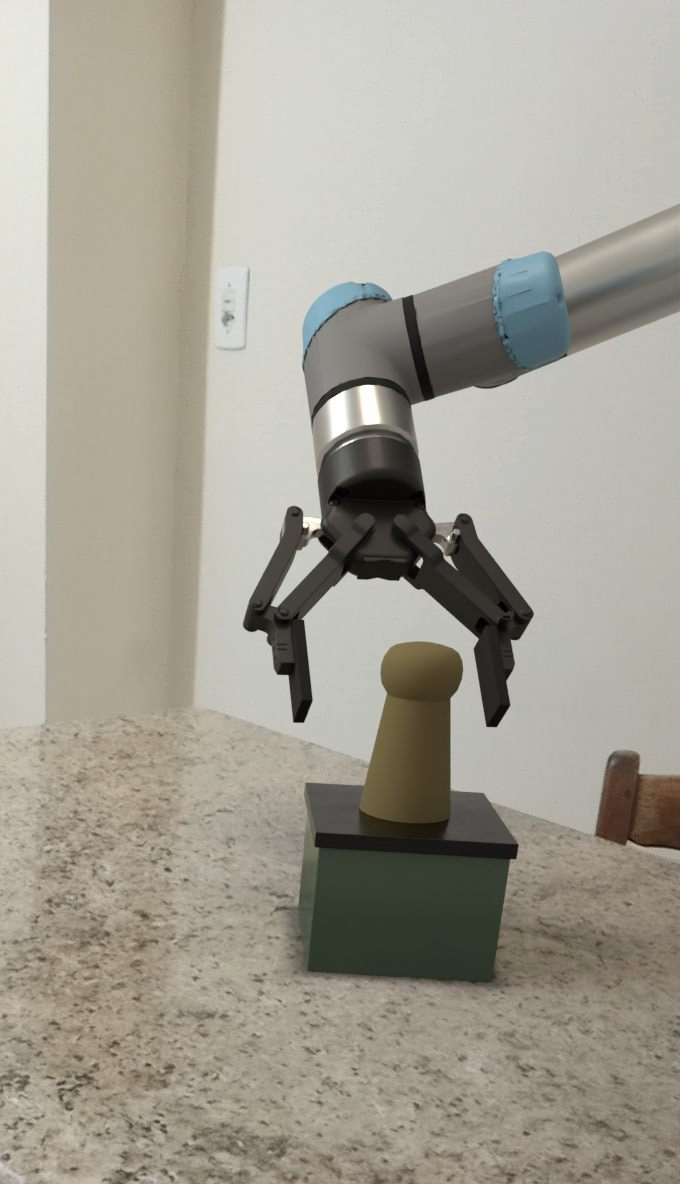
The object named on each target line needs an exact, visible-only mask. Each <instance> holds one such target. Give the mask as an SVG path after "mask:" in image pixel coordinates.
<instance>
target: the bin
mask: <svg viewBox="0 0 680 1184" xmlns="http://www.w3.org/2000/svg"><path fill="white" fill-rule="evenodd" d="M363 789H364V785H357V784H340V783H323V782H321V783H320V782H305V783H304V792H303V798H304V801H305V805H306V806H305V807H306V821H305V832H304V842H303V852H302V863H301V873H300V884H299V895H298V896H299V897H298V907H297V912H298V917H299V918H298V919H299V924H300V925H299V926H300V932H301V938H302V939H301V940H302V946H303V952H304V953H303V954H304V960H305V967H306V971H307V972H321V973H335V974H336V973H337V974H351V975H366V976H367V975H368V976H383V977H398V978H399V977H400V978H415V979H430V980H431V979H432V980H444V981H445V980H446V981H460V982H461V981H462V982H475V983H476V982H477V983H492V982H493V976H494V970H495V964H496V956H497V950H498V945H499V943H498V942H499V937H500V930H501V923H502V915H503V910H504V903H505V898H506V890H507V885H508V879H509V871H510V865H511V860H517V858H518V853H519V847H520V846H519V844H520V843H518V842H517V840H516V838H515V836H513V834H512V832H511V831H510V830H509V828H508V827H507V825H506V823H504V821H503V819H502V818H501V816H500V815H499V813H498V812H497V811H496V809H495V807H494V806H493V804H492V803H491V801H490V800H489V798H488V797H487V795H486V794H485V793H484V792H475V791H459V790H451V815H450V818H448V819H446V820H445V821H440V822H436V823H423V824H421V823H403V822H394V821H389V820H384V819H379V818H376V817H373V816H370V815H368V814H366V813H364V812H362V811H361V809H360V808H359V805H360V801H361V797H362V793H363Z"/></svg>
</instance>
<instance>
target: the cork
mask: <svg viewBox="0 0 680 1184" xmlns="http://www.w3.org/2000/svg"><path fill="white" fill-rule="evenodd" d="M463 674H464V663H463V659H462V657H461V655H460V653H459V652H458V651H457V650H456V649H454V648H452V647H450V646H447V645H445V644H441V643H437V642H431V641H418V640H417V641H416V640H415V641H406V642H400V643H395V644H394V645H392V646H390V647H389V649H388V650H387V651H386V653H384V656H383V658H382V660H381V664H380V673H379V675H380V682H381V685H382V687H383V689H384V690H385V692H386V696H385V698H384V699H385V700H384V704H383V707H382V712H381V715H380V719H379V725H378V729H377V733H376V736H375V740H374V743H373V749H372V753H371V756H370V760H369V765H368V769H367V773H366V776H365V781H364V785H363V786H364V789H363V793H362V797H361V801H360V805H359V808H360V809H361V811H362V812H364V813H366V814H368V815H370V816H373V817H376V818H379V819H384V820H389V821H394V822H403V823H421V824H423V823H436V822H440V821H445V820H446V819H448V818H450V815H451V791H452V790H451V789H452V788H451V785H452V784H451V783H452V781H451V779H452V778H451V771H452V769H451V766H452V765H451V764H452V763H451V760H452V759H451V756H452V755H451V754H452V752H451V751H452V748H451V747H452V746H451V743H452V742H451V740H452V739H451V737H452V736H451V730H452V729H451V722H452V721H451V716H452V715H451V712H452V711H451V708H452V707H451V706H452V704H451V703H452V702H451V701H452V700H451V698H452V697H454V695H455V694H456V693H457V692H458V690H459V688H460V686H461V682H462V680H463V676H464V675H463Z"/></svg>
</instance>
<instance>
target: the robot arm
mask: <svg viewBox="0 0 680 1184" xmlns="http://www.w3.org/2000/svg"><path fill="white" fill-rule="evenodd" d="M677 313H680V203H678V204H675V205H674V206H671V207H669V208H665V209H663V210H661V211H659V212H657V213H654V214H652V215H650V216H647V217H644V218H642V219H640V220H638V221H635V222H633V223H631V224H629V225H626V226H624V227H622V228H619V229H617V230H615V231H613V232H610V233H608V234H606V235H603V236H601V237H599V238H596V239H594V240H591V241H589V242H587V243H585V244H582V245H580V246H577V247H575V248H573V249H570V250H568V251H566V252H564V253H561V254H559V255H556V256H555V255H554V254H552V253H551V252H548V251H538V252H535V253H532V254H527V255H524V256H521V257H518V258H513V259H512V258H507V259H503V260H502V261H500V263H499V264H496V265H492V266H491V267H487V268H485V269H482V270H480V271H476V272H473V273H470V274H468V275H465V276H462V277H459V278H458V279H454V280H451V281H449V282H446V283H443V284H441V285H438V286H434V287H432V288H428V289H427V290H424V291H421V292H418V293H416V294H410V295H407V296H401V297H398V298H396V299H393V298H392V296H391V294H390V293H389V292H388V291H387V290H386V289H384V288H383V287H381V286H379V285H378V284H376V283H373V282H369V281H368V282H367V281H366V282H365V283H363V282H362V283H360V282H355V281H347V282H342V283H339V284H336V285H334V286H332V287H330V288H328V289H327V290H325V291H323V293H321V294H320V295H319V296H318V297H317V298H316V299H315V300H314V301H313V302H312V304H311V305H310V307H309V308H308V310H307V312H306V314H305V316H304V320H303V324H302V329H301V332H302V333H301V335H302V350H303V351H302V361H301V367H302V372H303V376H304V381H305V382H304V383H305V389H306V396H307V403H308V411H309V412H308V413H309V417H310V425H311V435H312V444H313V452H314V462H315V469H316V475H317V488H318V497H319V507H320V508H319V509H320V515H321V518H320V517H311V516H305V515H304V510H303V509H302V508H301V507H299V506H297V505H291V506H288V508H287V509H286V512H285V516H284V518H283V522H282V525H281V529H280V532H279V541H278V544H277V546H276V548H275V550H274V553H273V554H272V556H271V558H270V560H269V562H268V563H267V565H266V567H265V569H264V571H263V572H262V575H261V577H260V579H259V581H258V582H257V585H256V587H255V588H254V590H253V592H252V593H251V596H250V598H249V600H248V603H247V606H246V611H245V614H244V616H243V621H242V627H243V629H244V630H245V631H247V632H249V633H255V632H257V631H260V632H263V633H265V634H267V636H266V642H267V644H268V645H269V646H270V647H271V651H272V664H273V670H274V672H275V674H276V675H277V676H288V686H289V697H290V704H291V713H292V723H293V724H304V723H305V722H306V719H307V716H308V714H309V711H310V709H311V706H312V704H313V701H314V699H313V689H312V681H311V671H310V662H309V654H308V653H309V652H308V644H307V643H308V642H307V634H306V625H305V619H304V618H305V616H306V615H307V614H309V612H310V611H311V610H312V609H313V608H314V607H315V606H316V605H317V604H318V603H319V601H321V600H322V598H323V597H324V596H325V595H326V594H327V593H328V592H329V591H330V590H331V588H332V587H334V588H335V587H336V586H338V584H339V583H340V582H341V581H342V580H343V578H345V577H346V575H347V574H348V573H349V574H351V575H353V576H356V580H362V581H363V580H365V581H367V580H369V581H370V580H373V579H381V580H385V581H394V582H399V581H400V580H401V578H403V579H404V580H405V581H406V582H407V583H409V584H410V585H411V586H412V587H413V588H415V590H418V591H420V590H423V591H425V593H427V594H428V595H429V596H430V597H431V598H432V599H433V600H435V601H436V602H437V604H439V605H440V606H441V607H442V608H443V609H445V610H446V611H447V612H448V613H450V615H451V616H453V618H454V619H456V621H458V622H459V623H460V624H462V626H464V627H465V628H466V629H467V630H468V631H469V632H471V634H473V635H474V636H475V637H476V638H477V639H478V640H477V641H476V643H475V645H474V647H473V654H474V661H475V667H476V673H477V679H478V684H479V690H480V691H479V692H480V698H481V703H482V709H483V715H484V721H485V727H486V728H498V726H499V725H500V723H501V722H502V720H503V718H504V717H505V715H506V714H507V712H508V710H509V709H510V707H511V699H510V693H509V689H508V684H507V683H508V682H507V681H508V679H509V678H510V676H511V674H512V672H513V671H514V669H515V665H516V660H515V657H514V656H515V655H514V650H513V649H514V648H513V644H512V641H519V640H520V639H522V637H523V636H524V635H523V634H524V633H525V631H526V630H527V628H528V626H529V625H530V623H531V621H532V619H533V618H534V616H535V612H534V610H533V609H532V607H531V606H530V604H529V603H528V602H527V601H526V599H525V598H524V596H523V595H522V593H520V591H519V590H518V589H517V587H516V585H514V583H513V582H512V580H511V579H510V578H509V577H508V575H507V574H506V573H505V571H504V570H503V569H502V568H501V566H500V565H499V563H498V562H497V561H496V559H495V558H494V557H493V556H492V554H491V553H490V552H489V550H488V549H487V547H486V546H485V545H484V543H482V541H481V539H480V538H479V536H478V534H477V533H478V532H477V530H476V527H475V523H474V521H473V520H474V519H473V518H472V516H471V515H469V514H468V513H465V512H462V513H459V514H457V515H456V517H455V519H454V521H452V522H435V521H434V520H433V518H431V516H430V515H429V513H428V510H427V504H426V503H427V500H426V492H425V491H426V490H425V485H424V479H423V472H422V465H421V461H420V457H419V455H420V454H419V453H420V452H419V445H418V439H417V434H416V427H415V423H414V421H415V420H414V416H413V415H414V414H413V409H412V406H413V405H416V404H421V403H423V402H428V401H431V400H433V399H435V398H438V397H441V396H445V395H448V394H452V393H455V392H459V391H462V390H465V389H469V388H472V387H474V388H477V389H483V390H493V389H497V388H499V387H502V386H505V385H508V384H510V383H512V382H514V381H515V380H517V379H518V378H519V377H521V376H524V375H526V374H528V373H531V372H533V371H536V370H539V369H541V368H543V367H546V366H548V365H551V364H553V363H556V362H558V361H560V360H562V359H565V358H567V357H569V356H571V355H575V354H577V353H579V352H581V351H584V350H586V349H589V348H592V347H594V346H598V345H600V344H602V343H604V342H607V341H609V340H612V339H614V338H618V337H619V336H622V335H624V334H627V333H630V332H633V331H634V330H637V329H639V328H642V327H645V326H647V325H650V324H652V323H655V322H658V321H660V320H662V319H664V318H668V317H670V316H672V315H674V314H677ZM313 539H317V540H318V542H319V543H320V545H321V546H322V547H323V548H324V549H325V550H326V551H327V554H325V556H324V557H323V558H322V559H321V560H320V561H319V562H318V563H317V564H316V565H315V567H314V568H313V569H312V570H311V571H310V572H309V573H308V574H306V576H305V577H304V578H303V579H302V580H301V581H300V582H299V583H298V584H297V586H296V587H295V588H293V590H292V591H290V593H289V594H288V595H287V596H286V597H285V598H284V599H283V600H282V601H281V602H280V603H279V604H278V605H277V606H273V605H272V604H273V602H274V600H275V598H276V597H277V594H278V592H279V590H280V588H281V586H282V585H283V582H284V580H285V579H286V576H287V575H288V574H289V571H290V569H291V567H292V565H293V562H294V560H295V557H296V554H297V551H299V552H300V551H303V549H304V548H305V547H308V545H309V543H310V542H311V540H313ZM437 544H438V545H439V546H440V547H441V548H442V549H443V550H442V549H441V548H440V547H439V546H438V545H437ZM445 557H450V559H451V562H452V563H453V565H454V566H453V565H452V564H451V563H449V561H447V560H446V559H445ZM420 560H422V563H421V566H420V567H419V566H418V565H417V564H418V563H419V561H420Z"/></svg>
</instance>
